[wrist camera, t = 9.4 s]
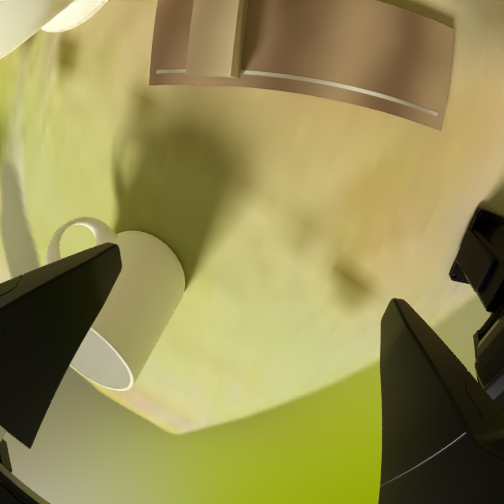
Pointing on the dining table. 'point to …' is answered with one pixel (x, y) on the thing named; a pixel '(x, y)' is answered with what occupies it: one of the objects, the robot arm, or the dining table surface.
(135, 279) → the mug
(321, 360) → the dining table surface
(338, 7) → the board
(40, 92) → the dining table surface
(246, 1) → the beige box with knob
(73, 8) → the decorative vase
